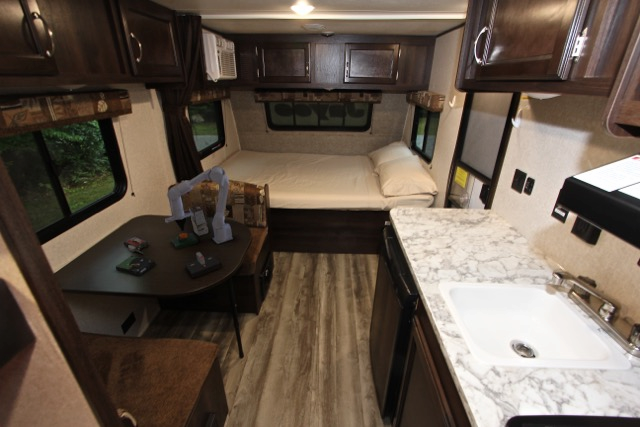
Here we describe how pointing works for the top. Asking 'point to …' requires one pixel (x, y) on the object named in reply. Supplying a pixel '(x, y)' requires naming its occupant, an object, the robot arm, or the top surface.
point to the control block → (184, 241)
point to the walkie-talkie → (135, 244)
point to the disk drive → (135, 265)
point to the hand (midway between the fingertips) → (182, 230)
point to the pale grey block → (200, 258)
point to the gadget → (202, 266)
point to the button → (183, 235)
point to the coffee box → (199, 220)
